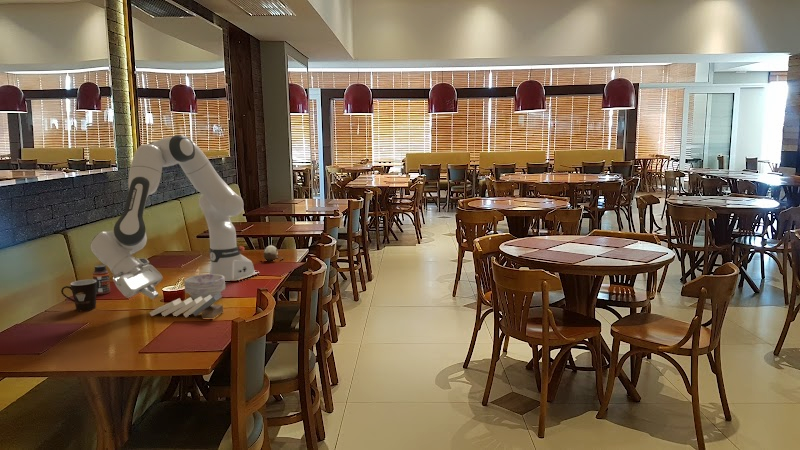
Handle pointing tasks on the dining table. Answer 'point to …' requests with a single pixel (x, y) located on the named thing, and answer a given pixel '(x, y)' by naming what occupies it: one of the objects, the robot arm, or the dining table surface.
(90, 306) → the coffee mug
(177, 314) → the domino
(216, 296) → the domino
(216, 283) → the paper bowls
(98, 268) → the supplement bottle
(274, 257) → the skull
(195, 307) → the domino
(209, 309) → the end block
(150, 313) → the domino
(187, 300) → the domino
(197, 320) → the dining table surface
